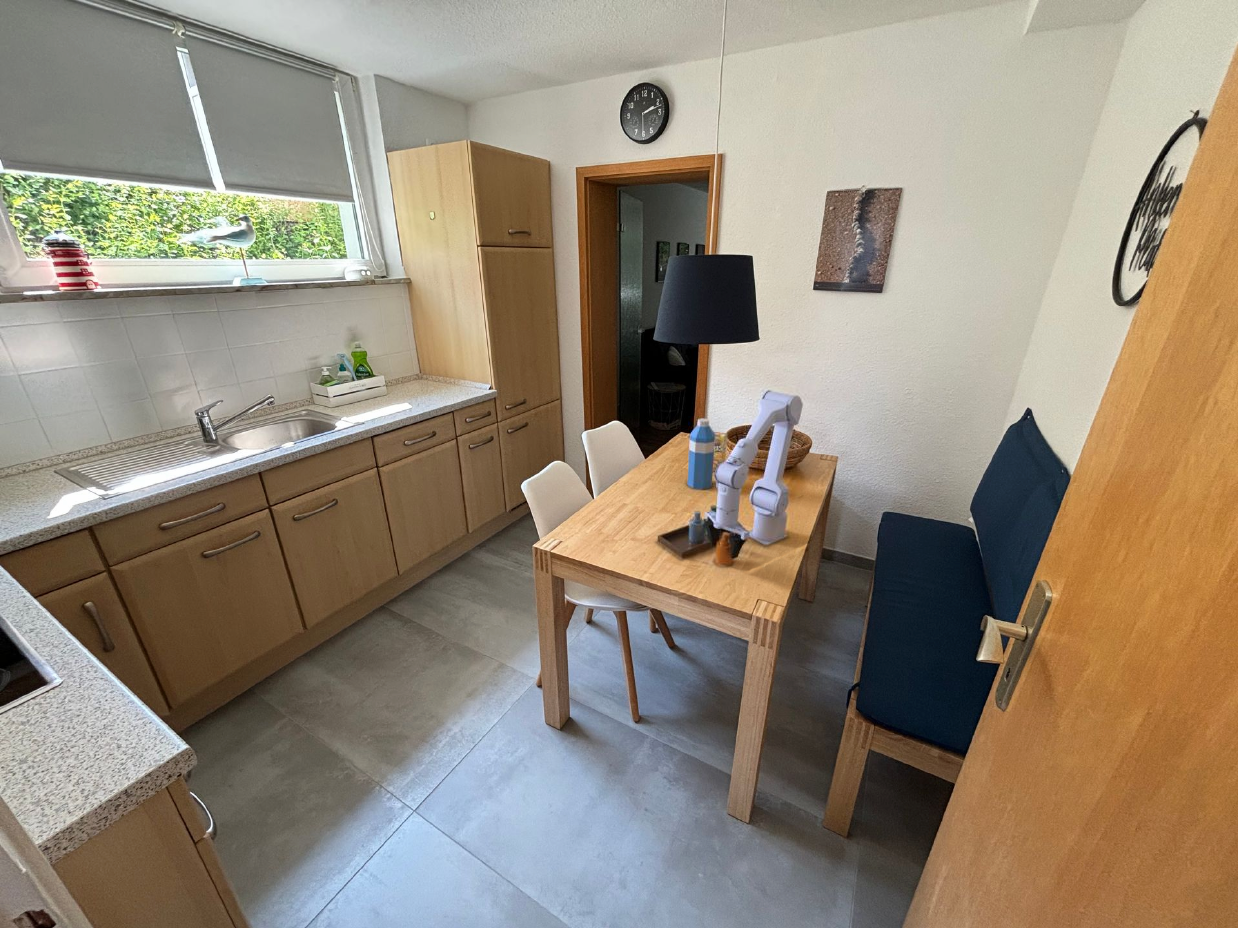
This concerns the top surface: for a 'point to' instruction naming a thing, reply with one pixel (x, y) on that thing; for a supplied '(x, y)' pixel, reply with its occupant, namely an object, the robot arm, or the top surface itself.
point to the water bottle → (701, 455)
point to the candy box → (719, 449)
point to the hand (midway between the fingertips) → (724, 551)
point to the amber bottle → (723, 550)
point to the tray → (685, 541)
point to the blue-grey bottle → (696, 528)
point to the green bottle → (714, 509)
